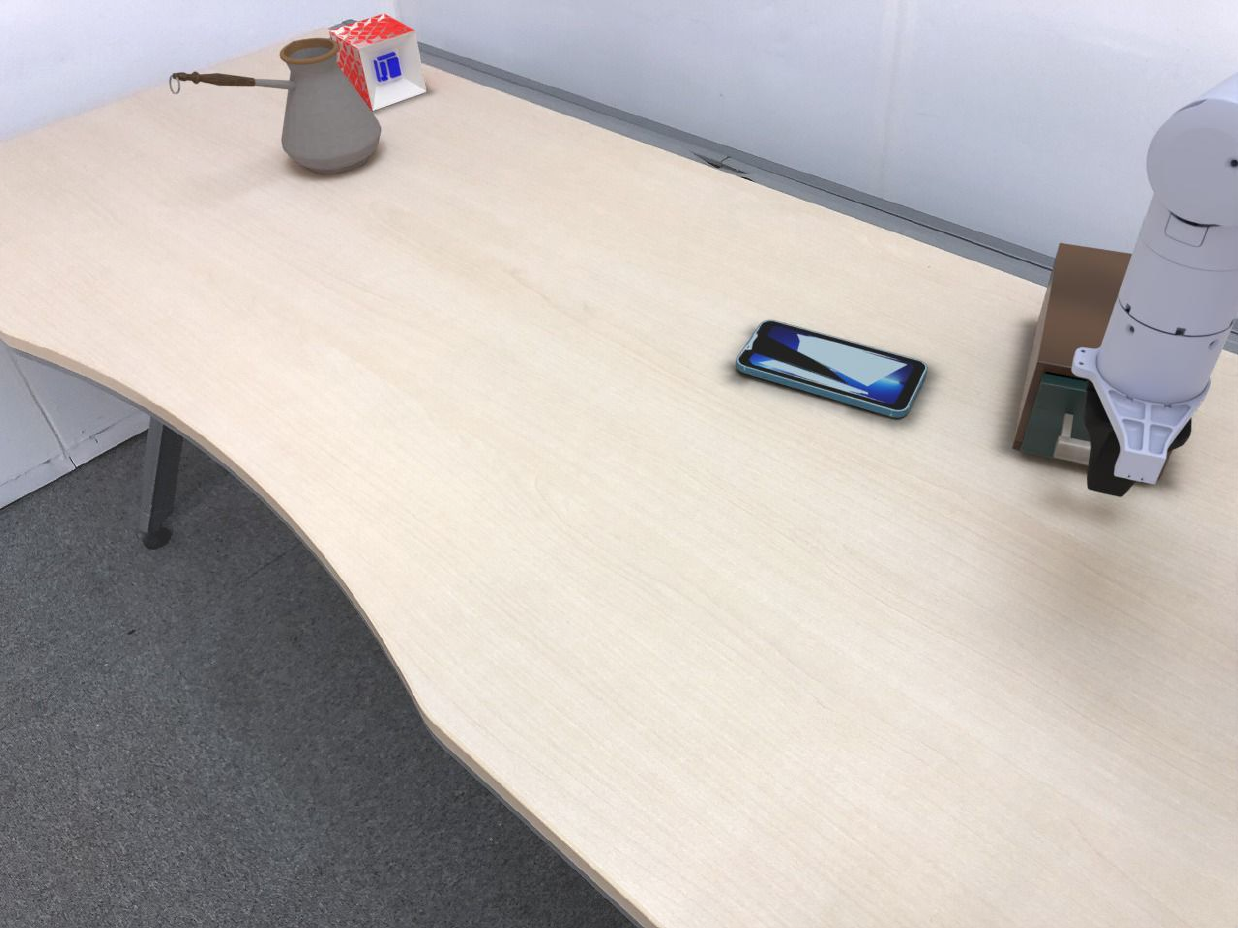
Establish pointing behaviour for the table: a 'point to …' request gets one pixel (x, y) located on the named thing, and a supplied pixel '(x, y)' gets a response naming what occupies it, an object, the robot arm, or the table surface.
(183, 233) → the table surface
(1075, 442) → the drawer
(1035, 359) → the cabinet
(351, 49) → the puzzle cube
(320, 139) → the coffee pot
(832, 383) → the smartphone
